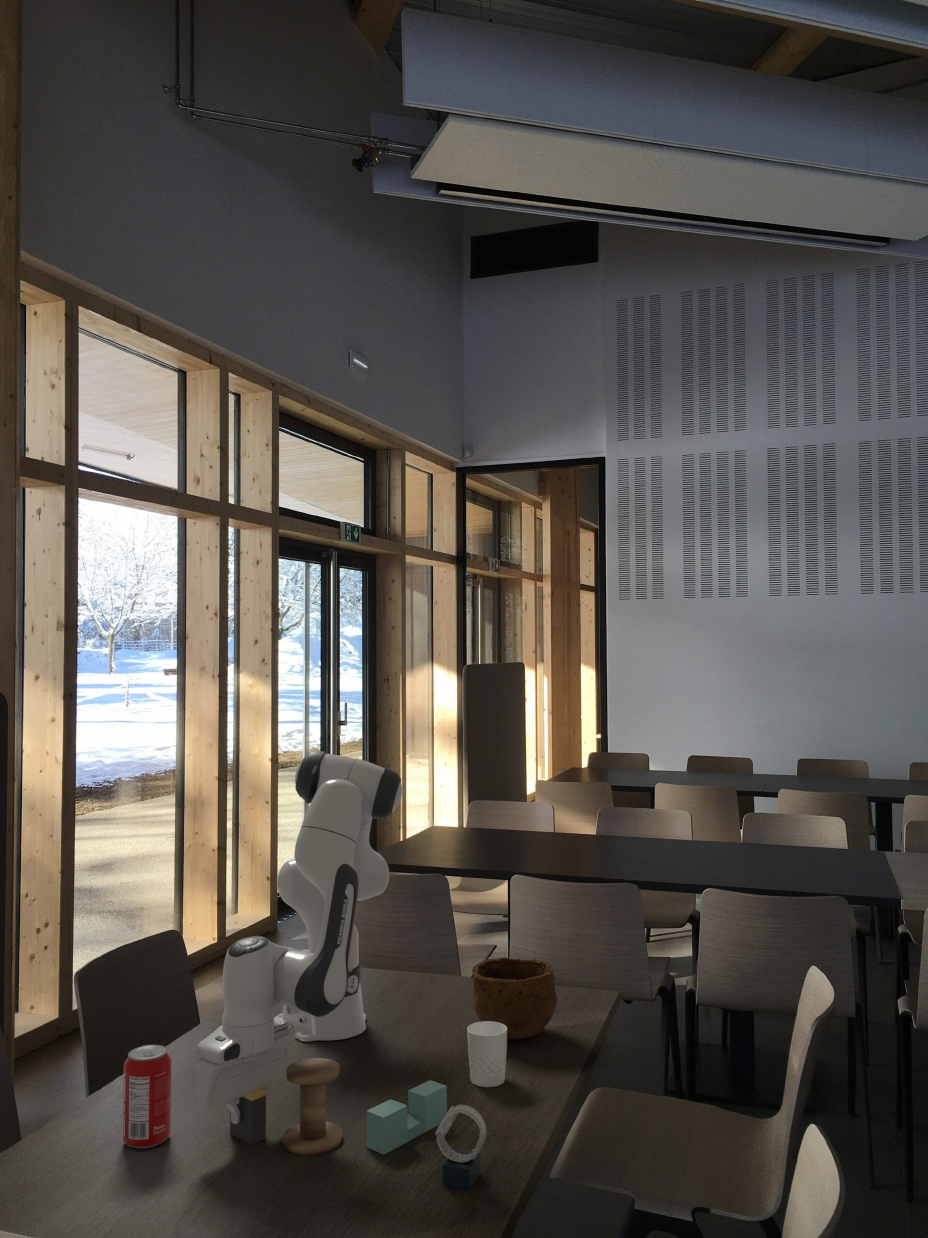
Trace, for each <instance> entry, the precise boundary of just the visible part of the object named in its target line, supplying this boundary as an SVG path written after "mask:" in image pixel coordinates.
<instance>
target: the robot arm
mask: <svg viewBox="0 0 928 1238" xmlns="http://www.w3.org/2000/svg"><path fill="white" fill-rule="evenodd" d="M294 782H295V791H296V793H297V795H298V796H299V798H301V799H302V800H304V801H305V803H306V804H307V805H308V804H309V806H308V808H307V810H306V813H305V814H304V815H305V816H304V818H303V820H302V824H301V826H300V829H299V832H298V834H297V838H296V842H295V845H294V854H293V855H294V857H293V859H291V860H287V861H286V862H284V863H283V865H281V868H280V869H279V870H278V873H277V879H276V887H277V892H278V894H279V897H280V898H281V900H283V902H284V903H285V904H287V905H288V906H289V907H291V908H292V909H293V910H295V911H296V913H297V915H299V916H300V917H301V919H302V921H303V923H304V925H305V928H306V932H307V936H308V937H307V940H308V941H307V942H308V951H306V950H303V949H302V950H301V949H299V948H294V947H290V946H285V945H280V944H276V943H274V942H272V941H270V939H269V938H267V937H265V936H261V935H255V936H254V935H252V936H248V937H243V938H240V939H238V940H236V941H234V942H233V943H232V944H231V945H229V947H228V949H227V951H226V954H225V957H224V963H223V970H222V993H221V994H222V999H223V1002H224V1011H223V1014H222V1020H221V1022H222V1024H221V1025H219V1026H218V1027H217V1028H216V1029H215V1030H214V1031H213V1032H212V1033H210V1034H209V1035H208V1036H206V1037H205V1038H204V1039H202V1040H201V1041H200V1042H198V1043H197V1044H196V1048H195V1049H196V1050H195V1051H196V1055H197V1056H198V1057H200V1058H199V1059H198V1061H197V1062H196V1064H195V1066H194V1072H193V1073H194V1074H193V1081H192V1084H193V1085H192V1100H193V1102H194V1104H195V1105H196V1107H199V1108H200V1109H203V1110H205V1111H210V1110H213V1109H216V1108H218V1107H220V1106H222V1105H226V1107H227V1108H228V1111H229V1113H230V1112H231V1122H232V1123H234V1124H238V1123H240V1122H242V1121H244V1111H242V1110H240V1109H238V1107H237V1105H236V1104H239V1098H240V1097H242V1096H245V1095H247V1094H249V1093H251V1092H253V1091H256V1090H258V1089H261V1088H262V1089H264V1090H266V1100H267V1099H268V1097H269V1094H270V1092H271V1086H272V1085H274V1084H276V1083H279V1082H281V1081H283V1080H286V1079H287V1078H286V1069H287V1067H288V1066H289V1065H291V1064H292V1063H294V1062H297V1061H299V1054H298V1048H297V1041H296V1039H297V1040H298V1041H301V1042H306V1043H307V1042H314V1041H315V1042H316V1041H339V1040H346V1039H349V1038H354V1037H356V1036H359V1035H361V1034H362V1033H364V1032H365V1030H366V1029H367V1024H366V1020H367V1016H366V1013H364V1003H363V994H362V986H361V984H360V982H361V979H362V978H361V977H362V975H361V974H362V968H361V964H360V961H359V960H360V959H359V953H360V952H359V947H360V946H359V938H360V937H359V931H358V929H357V927H356V925H355V923H354V922H355V919H356V910H357V903H358V901H365V900H368V899H371V898H374V897H377V896H380V895H383V893H384V892H385V890H386V889H387V887H388V884H389V882H390V881H389V880H390V869H389V865H388V863H387V861H386V859H385V858H384V856H383V855H381V853H379V852H377V851H375V850H374V849H373V847H372V846H371V844H370V833H371V827H372V822H373V819H376V820H377V819H382V820H383V819H386V818H389V817H390V816H392V815H393V813H394V811H396V809H397V808H398V807H399V805H400V803H401V799H402V796H403V788H402V787H403V786H402V778H401V777H400V775H399V773H398V772H396V771H394V769H391V768H388V767H382V766H380V765H377V764H375V763H372V762H369V761H367V760H363V759H360V758H357V757H356V758H353V757H349V756H346V755H340V754H339V755H337V754H331V753H327V751H320V750H319V751H318V750H315V751H314V750H311V751H310V752H308V753H306V754H305V755H304V756H303V759H302V760H301V761H300V762H299V764H298V766H297V768H296V771H295V776H294ZM278 1005H282V1013H279V1014H278V1015H276V1016H275V1011H274V1008H275V1006H278Z"/></svg>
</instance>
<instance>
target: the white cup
mask: <svg viewBox="0 0 928 1238" xmlns="http://www.w3.org/2000/svg"><path fill="white" fill-rule="evenodd" d="M466 1030H467V1031H466V1033H467V1053H468V1064H469V1076H470V1077H469V1078H470V1079H469V1080H470V1082H471V1083H472V1084H473V1085H475V1086H477V1087H482V1088H493V1087H498V1086H499V1087H500V1086H501V1085H503V1084H504V1082H505V1080H506V1066H507V1053H508V1052H507V1051H508V1049H507V1048H508V1039H507V1027H506V1026H505V1025H504V1024H501V1023H498V1022H491V1021H483V1022H481V1021H477V1022H474V1023H470V1024H469V1025H468V1026H467V1028H466Z"/></svg>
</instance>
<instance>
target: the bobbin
mask: <svg viewBox="0 0 928 1238" xmlns="http://www.w3.org/2000/svg"><path fill="white" fill-rule="evenodd" d="M339 1076H340V1064H339V1063H338V1062H337V1061H335V1060H333V1059H330V1058H324V1057H323V1058H322V1057H321V1058H320V1057H312V1058H305V1059H301V1060H298V1061H297V1062H294V1063H292V1064H291V1065H289V1066H288V1067H287V1069H286V1079H287V1080H288V1081H289V1082H290V1083H292V1084H295V1085H299V1123H298V1124H297V1123H296V1124H294V1125H293V1126H291V1127H289V1128H288V1129H286V1131H284V1133H283V1136H282V1143H283V1147H284V1148H285V1149H286V1151H288V1152H291V1153H294V1154H297V1155H303V1156H305V1155H307V1156H308V1155H309V1156H310V1155H313V1156H314V1155H320V1154H323V1153H328V1152H330V1151H332V1150H335V1149H336V1148H338V1147H339V1146H340V1145H341V1144H342V1141H343V1130H342V1128H341V1127H340V1125H338V1124H336V1123H333V1122H330V1121H327V1120H326V1119H327V1084H328V1083H330V1082H332V1081H334V1080H335V1079H337V1078H338V1077H339Z"/></svg>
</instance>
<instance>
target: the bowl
mask: <svg viewBox="0 0 928 1238" xmlns="http://www.w3.org/2000/svg"><path fill="white" fill-rule="evenodd" d="M471 972H472V978H473V980H472V982H473V992H472V1005H473V1008H474V1011H475V1013H476V1015H477V1018H478V1019H479V1022H483V1021H491V1022H498V1023H501V1024H504V1025H505V1026H506V1027H507V1040H523V1039H529V1038H531V1037H534V1036H536V1035H538V1034H539V1033H541V1032H542V1031H543V1030H544V1029H545V1028H546V1026H547V1025H548V1024H549V1023H550V1021H551V1020H552V1017H553V1016H554V1013H555V1010H556V1007H557V1005H558V1003H559V1002H558V1001H559V1000H558V997H557V993H556V979H555V978H556V977H555V972H554V968H553V967H552V965H551V964H550V963H548V961H544V960H538V959H533V958H532V959H521V958H511V957H509V958H508V957H506V956H504V957H496V958H494V957H493V958H490V959H487V960H483V961H479V962H478V963H477V964H475V965H474V966H473V967H472V970H471Z"/></svg>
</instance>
